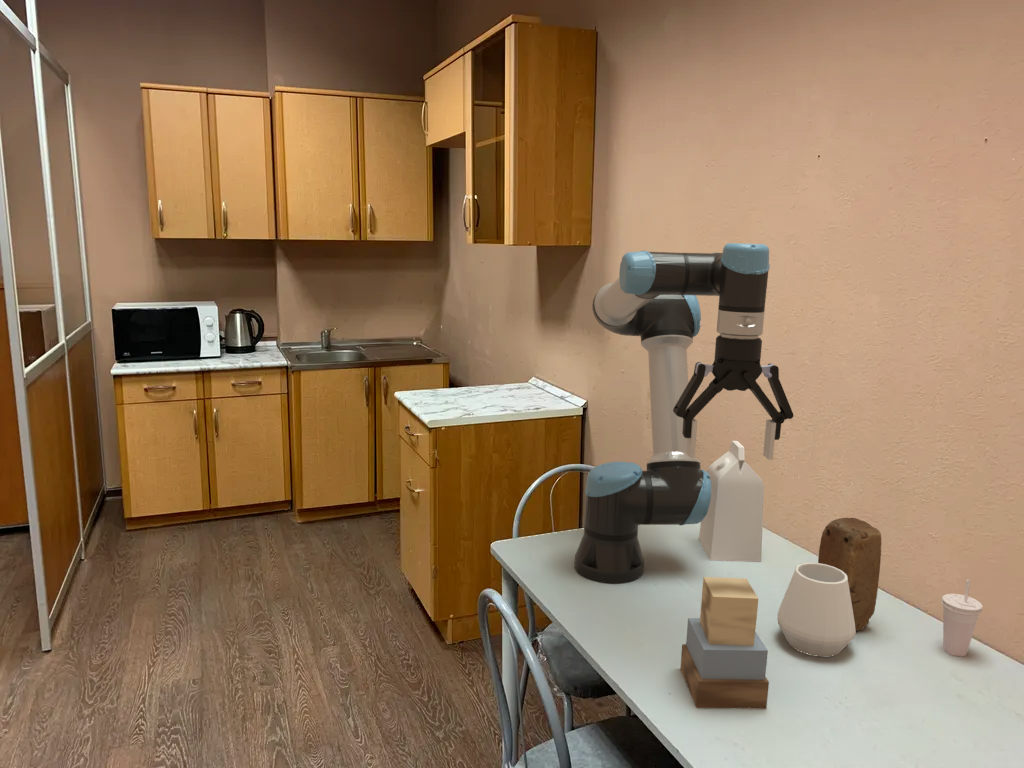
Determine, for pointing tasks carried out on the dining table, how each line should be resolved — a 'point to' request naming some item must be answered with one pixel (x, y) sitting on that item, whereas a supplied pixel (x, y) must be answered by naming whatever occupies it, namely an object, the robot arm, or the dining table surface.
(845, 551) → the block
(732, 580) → the oak block
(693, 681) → the tower base
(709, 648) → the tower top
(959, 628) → the smoothie
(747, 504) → the milk
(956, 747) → the dining table surface
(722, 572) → the dining table surface
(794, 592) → the white ceramic vase
